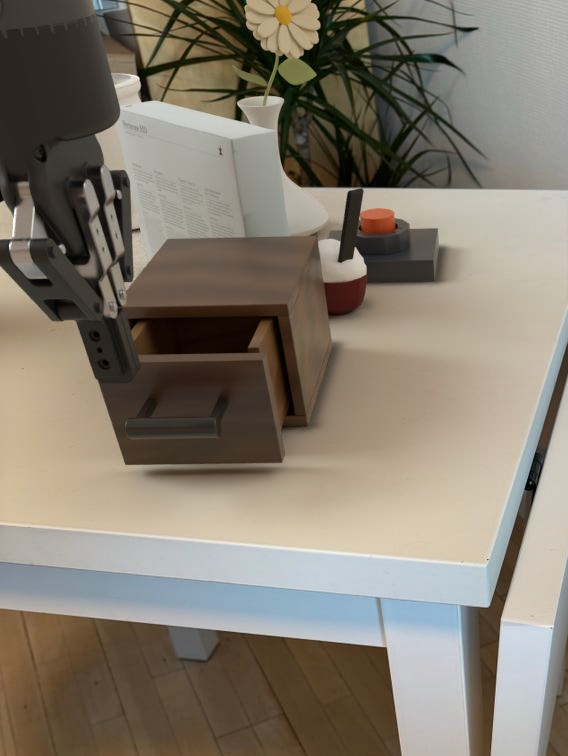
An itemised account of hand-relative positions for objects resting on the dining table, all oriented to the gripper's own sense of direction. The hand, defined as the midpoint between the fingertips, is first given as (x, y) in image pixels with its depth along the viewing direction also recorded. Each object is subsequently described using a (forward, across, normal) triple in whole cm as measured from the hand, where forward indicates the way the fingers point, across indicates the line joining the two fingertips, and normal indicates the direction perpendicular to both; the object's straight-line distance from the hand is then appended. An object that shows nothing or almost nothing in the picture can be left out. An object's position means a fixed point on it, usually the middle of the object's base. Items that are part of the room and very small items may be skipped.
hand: (119, 377), depth 51 cm
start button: (+9, -52, +9) cm, 54 cm away
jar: (+12, -69, -24) cm, 74 cm away
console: (+12, -52, +9) cm, 54 cm away
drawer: (+11, -14, 0) cm, 18 cm away
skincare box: (+12, -46, -7) cm, 48 cm away
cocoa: (+12, -40, +6) cm, 42 cm away
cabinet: (+12, -24, 0) cm, 27 cm away
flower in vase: (+12, -63, -3) cm, 64 cm away
